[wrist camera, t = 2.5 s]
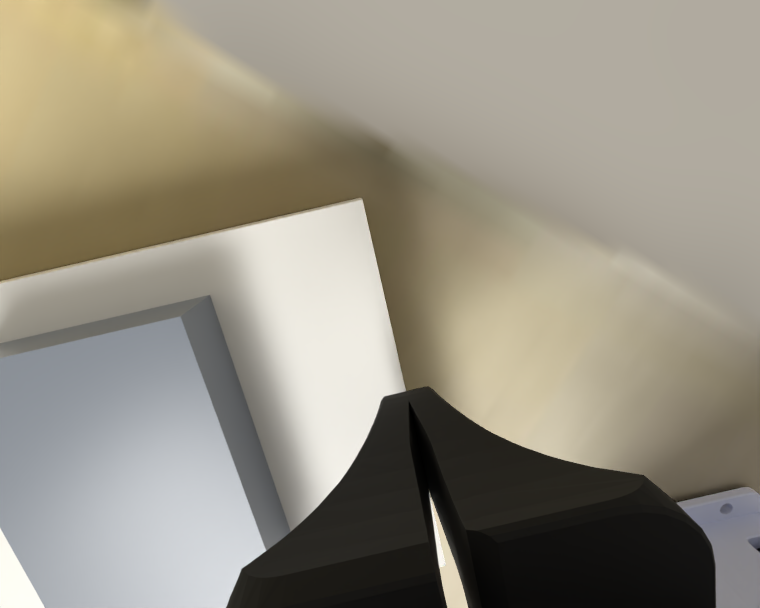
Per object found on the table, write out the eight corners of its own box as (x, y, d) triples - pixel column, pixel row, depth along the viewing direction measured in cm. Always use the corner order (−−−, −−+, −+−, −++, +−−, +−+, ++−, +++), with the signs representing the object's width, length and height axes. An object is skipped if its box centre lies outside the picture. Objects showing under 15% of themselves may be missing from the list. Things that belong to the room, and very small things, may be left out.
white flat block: (360, 197, 14) (362, 199, 11) (430, 501, 17) (445, 565, 14) (-61, 295, 14) (-170, 323, 11) (87, 580, 17) (32, 660, 14)
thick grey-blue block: (210, 294, 11) (180, 316, 9) (300, 560, 14) (291, 620, 12) (-11, 345, 11) (-85, 377, 9) (118, 602, 14) (79, 669, 12)
